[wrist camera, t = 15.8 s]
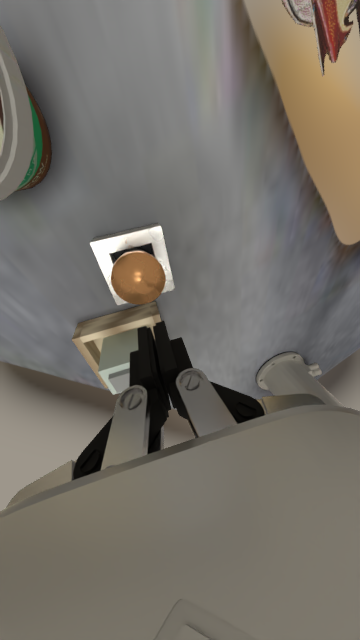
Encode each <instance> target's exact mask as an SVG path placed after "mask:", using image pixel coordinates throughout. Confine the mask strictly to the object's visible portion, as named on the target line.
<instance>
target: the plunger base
mask: <svg viewBox="0 0 360 640" xmlns="http://www.w3.org/2000/svg"><path fill="white" fill-rule="evenodd" d="M149 243H150V244H151V248H152V252H153V256H154V257H155V258H156V259H157V260H158V261H159V262H160V264H161V266H162V267H163V270H164V272H165V277H166V281H165V287H164V289H163V291H162V293H164V292H168V291H171V290H175V287H174V283H173V278H172V274H171V269H170V265H169V260H168V255H167V251H166V246H165V242H164V237H163V232H162V228H161V225H159V224H158V223H155V224H151V225H147V226H143V227H139V228H134V229H130V230H126V231H122V232H118V233H114V234H110V235H105V236H101V237H97V238H93V240H92V241H91V242H90V245H91V247H92V249H93V252H94V254H95V256H96V259H97V261H98V263H99V265H100V268H101V270H102V272H103V274H104V277H105V279H106V281H107V283H108V286H109V288H110V290H111V293H112V295H113V297H114V299H115V302H116V304H117V306H118V305H121V304H125V303H128V302H126V301H124V300H123V299H121V298H120V297H119V296H118V295H117V294H116V292H115V291H114V289H113V287H112V284H111V272H112V268H113V265H114V263H115V262H116V260H115V258H114V255H113V252H117V251H121V250H125V249H129V248H133V247H137V246H141V245H145V244H149Z"/></svg>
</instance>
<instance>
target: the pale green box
mask: <svg viewBox="0 0 360 640" xmlns="http://www.w3.org/2000/svg"><path fill="white" fill-rule="evenodd" d="M143 327H144V326H143ZM136 350H138V332H137V328H136V329H133V330H129V331H126V332H123V333H119V334H116V335H112V336H109V337H106V338H103V343H102V349H101V356H100V362H99V368H98V373H99V374H100V376H101V377H102V379H103V380H104V382H105V383H106V385H107V386H108V388H109V389H110V391H111V392H112V394H116V393H120V392H123V391H124V390H125V389H127V388H128V387H129V377H130V352H133V351H136Z"/></svg>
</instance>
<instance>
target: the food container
mask: <svg viewBox="0 0 360 640" xmlns="http://www.w3.org/2000/svg"><path fill="white" fill-rule="evenodd" d="M51 155H52V150H51V140H50V136H49V131H48V128H47V125H46V122H45V119H44V117H43V115H42V113H41V111H40V108H39V106H38V105H37V103H36V101H35V100H34V98H33V96H32V94H31V93H30V91H29V90H28V88H27V87H26V85H25V83H24V80H23V77H22V74H21V71H20V69H19V66H18V63H17V60H16V58H15V56H14V53H13V51H12V49H11V47H10V45H9V42H8V40H7V38H6V36H5V33H4V31H3V29H2V28H1V26H0V201H1V200H3V199H5V198H7V197H8V196H9V195H10V194H11V193H13V192H14V191H19V190H24V189H29V188H33V187H34V186H36V185H37V184H38V183H40V182H41V181H42V180H43V179H44V178H45V176H46V174H47V172H48V170H49V167H50V163H51Z"/></svg>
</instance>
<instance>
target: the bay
mask: <svg viewBox="0 0 360 640" xmlns="http://www.w3.org/2000/svg"><path fill="white" fill-rule="evenodd" d="M158 322H162V321H161V318H160V315H159V311H158V308H157V305H156V301H155V302H152V303H148V304H145V305H141V306H137V307H134V308H130V309H127V310H123V311H120V312H116V313H113V314H109V315H106V316H102V317H98V318H95V319H91V320H88V321H84V322H81V323H78V325H77V328H76V330H75V333H74V335H73V338H72V341H73V342H74V343H75V345H76V346H77V348H78V349H79V351H80V352H81V354H82V355H83V356H84V358H85V359H86V361H87V362H88V364H89V365H90V367H91V368H92V369H93V371H94V372H95V374H96V375H97V377H98V378H99V380H100V381H101V382H102V384H103V385H104V387H105V388H108V386H107V385H106V383H105V382H104V380H103V379H102V377H101V376H100V374H99V373H98V368H99V362H100V356H101V349H102V343H103V338H106V337H109V336H112V335H116V334H119V333H123V332H126V331H129V330H133V329H136V328H140V327H143V326H147V328H149V327H150V328H151V331H152V333H153V336H154V331H153V326H156V323H158ZM154 339H155V337H154Z"/></svg>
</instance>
